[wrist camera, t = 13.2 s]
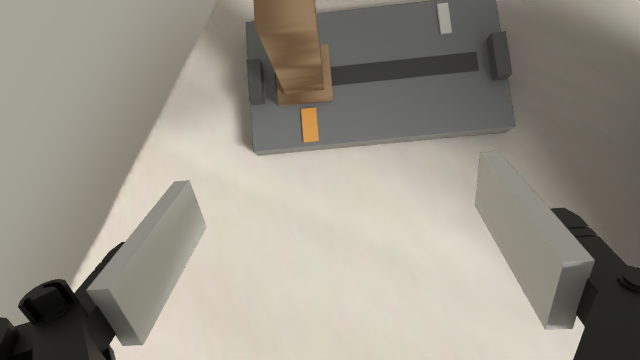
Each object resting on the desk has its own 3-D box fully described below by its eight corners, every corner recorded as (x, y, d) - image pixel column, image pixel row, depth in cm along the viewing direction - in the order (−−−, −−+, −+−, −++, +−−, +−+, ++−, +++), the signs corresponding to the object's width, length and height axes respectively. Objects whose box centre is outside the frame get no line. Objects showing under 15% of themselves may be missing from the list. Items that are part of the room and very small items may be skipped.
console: (486, 6, 35) (500, -16, 32) (505, 132, 34) (522, 122, 31) (250, 33, 37) (242, 15, 34) (258, 155, 35) (250, 148, 32)
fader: (328, 50, 34) (320, -47, 21) (333, 101, 33) (327, 30, 21) (276, 56, 34) (239, -37, 22) (280, 106, 33) (244, 40, 21)
